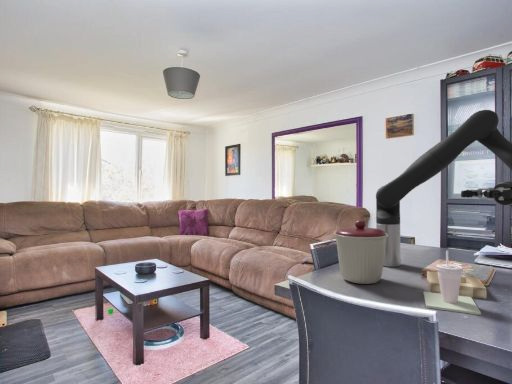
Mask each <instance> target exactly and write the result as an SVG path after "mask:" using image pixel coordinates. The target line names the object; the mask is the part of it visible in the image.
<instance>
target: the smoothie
mask: <svg viewBox="0 0 512 384" xmlns="http://www.w3.org/2000/svg"><path fill="white" fill-rule="evenodd" d="M463 268H464V267H463V266H462V265H461V266H460V265H458V264H453V263H449V250H446V251H445V263H437V264H436V265H435V269H436V270H437V272H438V277H439V284H440V290H441V297H442V301H444V302H447V303H458V296H459V288H460V280H461V274H463V272H464V269H463Z"/></svg>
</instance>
